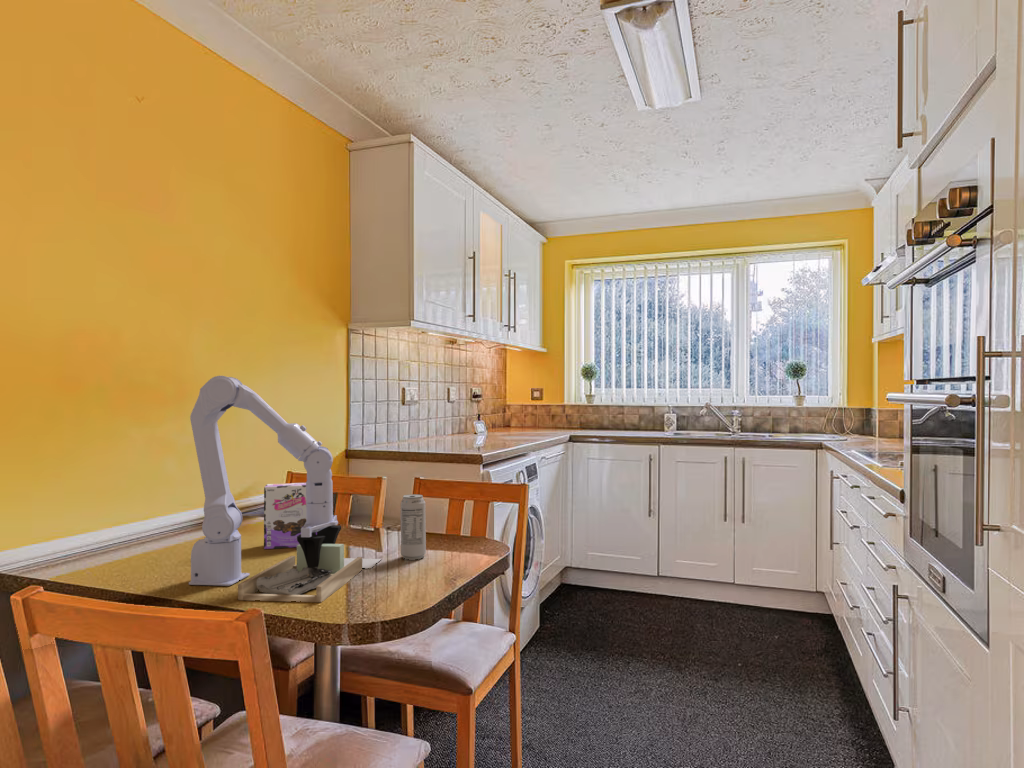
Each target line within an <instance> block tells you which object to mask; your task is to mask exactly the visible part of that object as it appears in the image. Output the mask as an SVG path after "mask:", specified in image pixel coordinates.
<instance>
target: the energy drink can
mask: <svg viewBox="0 0 1024 768" xmlns="http://www.w3.org/2000/svg"><path fill="white" fill-rule="evenodd" d="M426 519H427V518H426V501H425V499H424V496H423V494H417V493H415V494H414V493H413V494H411V493H410V494H404V495H403V496H402V500H401V501H400V555H401V556H402V558H403V559H404V558H405V559H404V560H406V559H409V560H408V561H415V559H418V560H422V559H423V558H424V557H425V555H426V553H427V545H426V544H427V540H426V539H427V538H426V537H427V536H426V535H427V534H426V533H427V531H426V529H427V525H426V524H427V523H426ZM421 558H422V559H421Z"/></svg>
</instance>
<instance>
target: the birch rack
mask: <svg viewBox="0 0 1024 768" xmlns="http://www.w3.org/2000/svg"><path fill="white" fill-rule="evenodd" d="M362 558H363V557H362V556H357V557H356V559H355V560H353V561H352V562H350V563H349V564H347V565H346V566H344V567H343V568H342V569H340V570H339V571H338V572H336V573H335V574H330V575H331V576H330V577H329V578H328V579H326V580H325V581H323V582H322V583H321V584H319V585H318V586H316V588H315V590H316V593H315V594H316V595H315V594H311V595H310V594H299V595H288V594H270V593H257V592H259V591H258V590H259V589H258V587H257V579H258V578H259V577H271V576H273V577H274V576H275V575H276V574H277V573H280V572H281V573H282V572H283V573H284V572H286V571H288V570H290V569H293V568H294V569H297V564H296V555H289V556H288V557H286V558H284V559H282V560H281V561H278V562H276V563H275V564H273V565H271V566H269V567H268V568H266V569H264V570H263V571H261V572H258V573H256V574H254V575H253V576H251V577H249V578H247V579H246V580H244V581H242V582H240V583H239V584H237V600H238V601H255V600H260V601H261V602H262V601H263V602H291V601H296V602H299V603H323V602H324V601H325V600H327V599H328V598H329V597H330V596H331V595H333V594H334V593H335V592H337V591H338V590H339V589H340V588H342V587H343V586H345V585H346V584H347V583H348V582H349V581H351V580H352V579H354V576H355V575H356V576H357V575H358V574H360V573H361V572H362V571H363V569H362ZM361 570H362V571H361ZM360 571H361V572H360ZM359 572H360V573H359ZM307 576H309V574H308V575H307ZM356 576H355V577H356ZM350 579H351V580H350ZM255 592H256V593H255ZM260 601H259V602H260ZM300 601H301V602H300ZM322 601H323V602H322Z"/></svg>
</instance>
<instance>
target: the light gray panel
mask: <svg viewBox="0 0 1024 768" xmlns="http://www.w3.org/2000/svg"><path fill="white" fill-rule="evenodd" d="M356 558H357V557H356ZM356 558H353V557H350V558H349V557H344V566H346V565H347V564H349V563H350V562H352V561H353V560H355V559H356ZM381 559H382V558H363V557H362V568H371V569H373V568H374V567H375V566H376V565H377V564H376V563H378V562H379V561H380V560H381ZM381 561H382V560H381ZM381 561H380V562H381ZM380 562H379V563H380ZM379 563H378V564H379ZM375 564H376V565H375ZM374 565H375V566H374ZM373 566H374V567H373ZM372 567H373V568H372Z"/></svg>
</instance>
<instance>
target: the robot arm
mask: <svg viewBox="0 0 1024 768" xmlns="http://www.w3.org/2000/svg"><path fill="white" fill-rule="evenodd" d="M233 407H234V408H238V409H243V410H247V411H250V412H251V413H252V414H253V415H254V416H256V417H257V418H258V419H260V420H261V422H263V423H264V424H265V425H266V426H268V427H269V428H270V429H271V430H272V431H273V432H274V433H276V434H277V443H278V444H279V445H280V446H282V447H283V449H285V450H286V451H287V452H288V453H289V454H291V456H293V457H294V458H295V459H296V460H297V461H298V462H303V467H304V469H305V471H306V482H305V483H306V523H305V525H304V527H303V528H301V534H300V535H298V536H297V541H298V542H299V544H300V546H301V547H302V550H303V552H304V555H305V559H306V563H307V566H308V568H314V567H318V565H319V559H320V550H321V546H322V544H336V541H337V539H338V536H339V534H340V531H341V530H342V525H341V524H340V525H339V521H338V517H337V516H338V515H336V514H335V515H334V512H333V511H334V503H333V502H334V498H333V497H334V494H333V493H334V492H333V490H334V489H333V485H334V483H333V480H332V477H333V472H332V469H331V468H332V467H333V466H332V465H333V462H334V458H333V454H332V452H331V451H330V450H329V448H328V447H326V446H322V445H323V442H322V441H321V440H318V441H317V439H316V438H314V437H313V436H312V435H311V434H309V432H307V427H306V426H305V425H304V424H302V425H300V424H298V423H296V422H294V423H293V422H291V423H290V422H287V421H286V420H285V419H284V418H283V416H281V415H280V414H279V413H278V412H277V411H276V410H275V409H274V408H273V407H272V406H270V405H269V404H268V403H267V401H265V400H264V398H262V396H260V395H259V394H258V393H257V392H256V391H254V390H253V389H252V388H250V387H249V386H247V385H246V384H243V383H242V381H240V380H239V379H238V378H236V377H232V376H225V375H217V376H216V375H215V376H213V377H211V378H210V379H208V381H207V382H205V383H204V384H203V385H202V386H201V388H200V389H199V393H198V397H197V399H196V401H195V404H194V406H193V409H192V411H191V412H190V416H189V418H190V424H191V430H192V435H193V436H192V437H193V440H194V446H195V451H196V455H197V461H198V466H199V472H200V478H201V483H202V488H203V492H204V497H205V498H204V504H203V513H204V517H203V522H202V525H201V529H202V533H203V535H204V538H202V539H198V540H197V541H195V543H194V544H193V545H192V548H191V552H190V553H191V554H190V581H188V585H191V586H223V587H224V586H226V587H228V586H231V585H234V584H235V583H237V582H239V580H240V581H241V580H244V579H245V578H247V577H249V576H250V572H242V534H241V533H240V532H239V528H240V527H241V525H242V522H243V514H242V511H241V510H240V509H239V508H238V507H237V504H236V501H235V497H234V496H233V494H232V492H231V489H230V484H229V477H228V472H227V466H226V463H225V458H224V457H225V456H224V451H223V446H222V442H221V435H220V430H219V425H218V421H219V420H220V419H221V418H222V416H223V415H224V414H225V413H226V412H227V410H229V409H230V408H233ZM316 532H317V535H318V536H317V535H316Z"/></svg>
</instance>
